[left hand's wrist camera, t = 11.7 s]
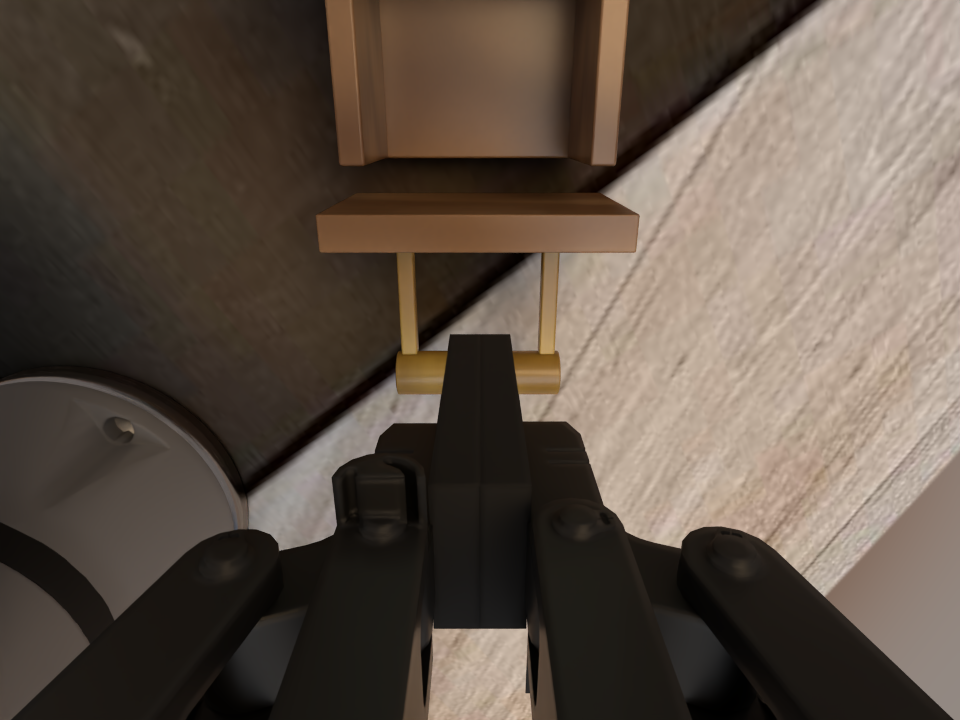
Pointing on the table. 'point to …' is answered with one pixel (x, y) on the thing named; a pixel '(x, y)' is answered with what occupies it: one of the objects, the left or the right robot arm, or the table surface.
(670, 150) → the table surface
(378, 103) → the drawer
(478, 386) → the left robot arm
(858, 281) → the table surface
